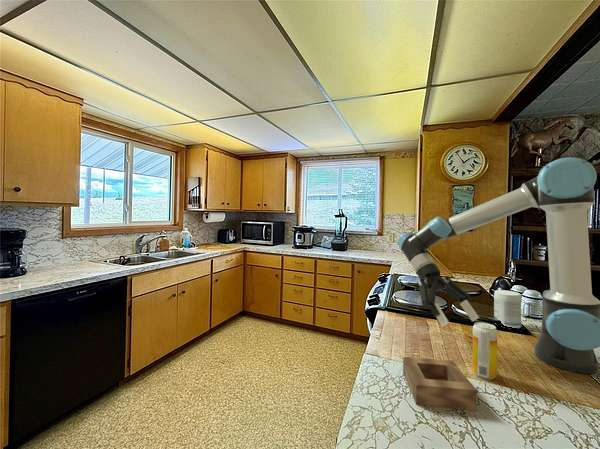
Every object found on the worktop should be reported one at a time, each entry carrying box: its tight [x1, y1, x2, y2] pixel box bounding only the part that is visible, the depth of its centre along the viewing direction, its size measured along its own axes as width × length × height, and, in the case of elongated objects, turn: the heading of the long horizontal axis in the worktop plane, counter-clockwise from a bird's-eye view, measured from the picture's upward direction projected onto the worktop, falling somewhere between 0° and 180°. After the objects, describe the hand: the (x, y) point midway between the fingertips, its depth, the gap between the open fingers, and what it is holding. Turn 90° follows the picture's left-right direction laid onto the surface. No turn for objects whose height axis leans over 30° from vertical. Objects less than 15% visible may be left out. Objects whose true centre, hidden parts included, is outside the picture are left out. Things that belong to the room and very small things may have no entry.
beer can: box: [471, 321, 498, 381], centre depth 81 cm, size 6×6×15 cm
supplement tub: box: [493, 289, 522, 329], centre depth 120 cm, size 10×10×15 cm
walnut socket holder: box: [402, 356, 478, 412], centre depth 73 cm, size 14×14×5 cm
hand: (461, 322), depth 87 cm, fingers open, 13 cm apart
